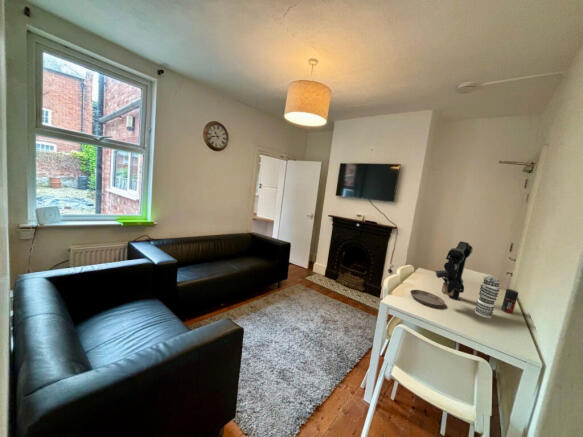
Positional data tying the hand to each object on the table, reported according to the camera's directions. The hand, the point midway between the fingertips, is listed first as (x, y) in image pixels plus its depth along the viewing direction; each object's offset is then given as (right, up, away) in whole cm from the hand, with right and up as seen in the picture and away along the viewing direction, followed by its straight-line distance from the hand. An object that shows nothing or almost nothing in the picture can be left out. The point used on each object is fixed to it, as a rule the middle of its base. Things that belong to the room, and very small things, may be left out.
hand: (447, 291), depth 149 cm
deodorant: (+46, -16, +7) cm, 49 cm away
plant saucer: (-9, -9, +9) cm, 16 cm away
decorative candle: (+22, -14, -1) cm, 26 cm away
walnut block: (0, -1, 0) cm, 1 cm away
